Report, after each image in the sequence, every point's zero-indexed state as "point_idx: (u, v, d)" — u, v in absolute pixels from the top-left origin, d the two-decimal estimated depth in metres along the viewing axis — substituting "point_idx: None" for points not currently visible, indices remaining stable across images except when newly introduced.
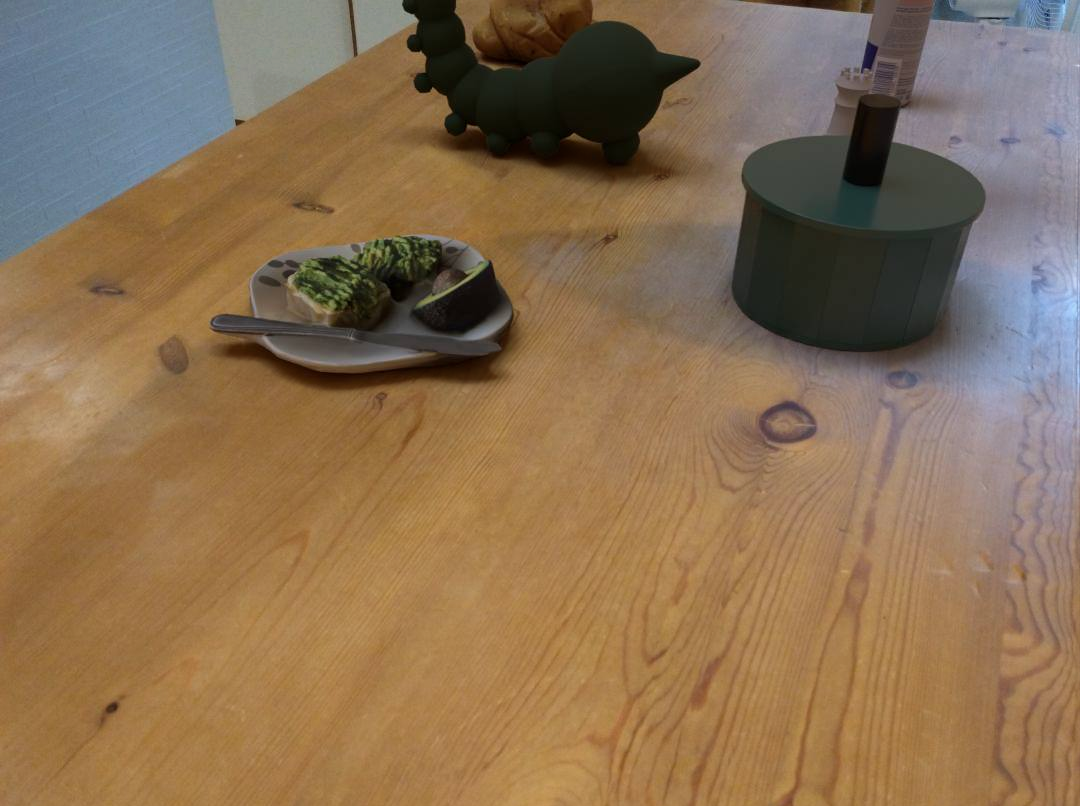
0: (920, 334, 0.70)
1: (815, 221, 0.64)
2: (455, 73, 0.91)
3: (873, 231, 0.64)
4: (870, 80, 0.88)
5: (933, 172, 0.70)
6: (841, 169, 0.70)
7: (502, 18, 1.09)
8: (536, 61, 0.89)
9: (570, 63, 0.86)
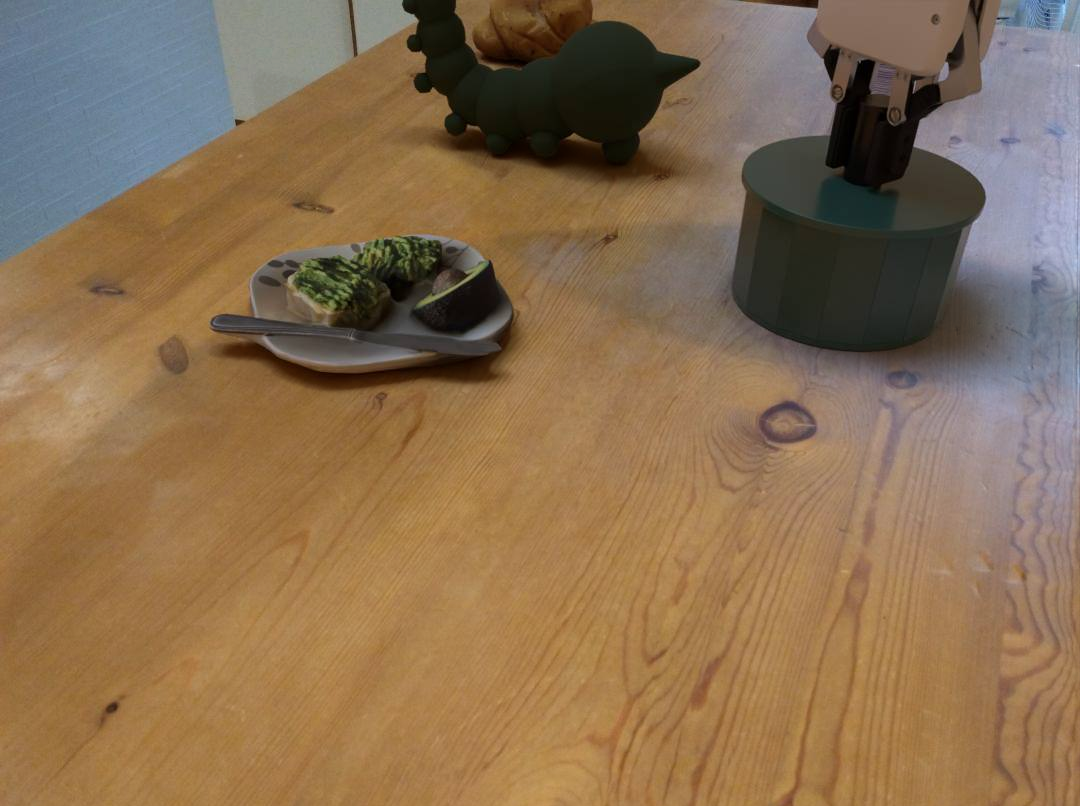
0: (920, 334, 0.70)
1: (815, 221, 0.64)
2: (455, 73, 0.91)
3: (873, 231, 0.64)
4: None
5: (933, 172, 0.70)
6: (841, 169, 0.70)
7: (502, 18, 1.09)
8: (536, 61, 0.89)
9: (570, 63, 0.86)
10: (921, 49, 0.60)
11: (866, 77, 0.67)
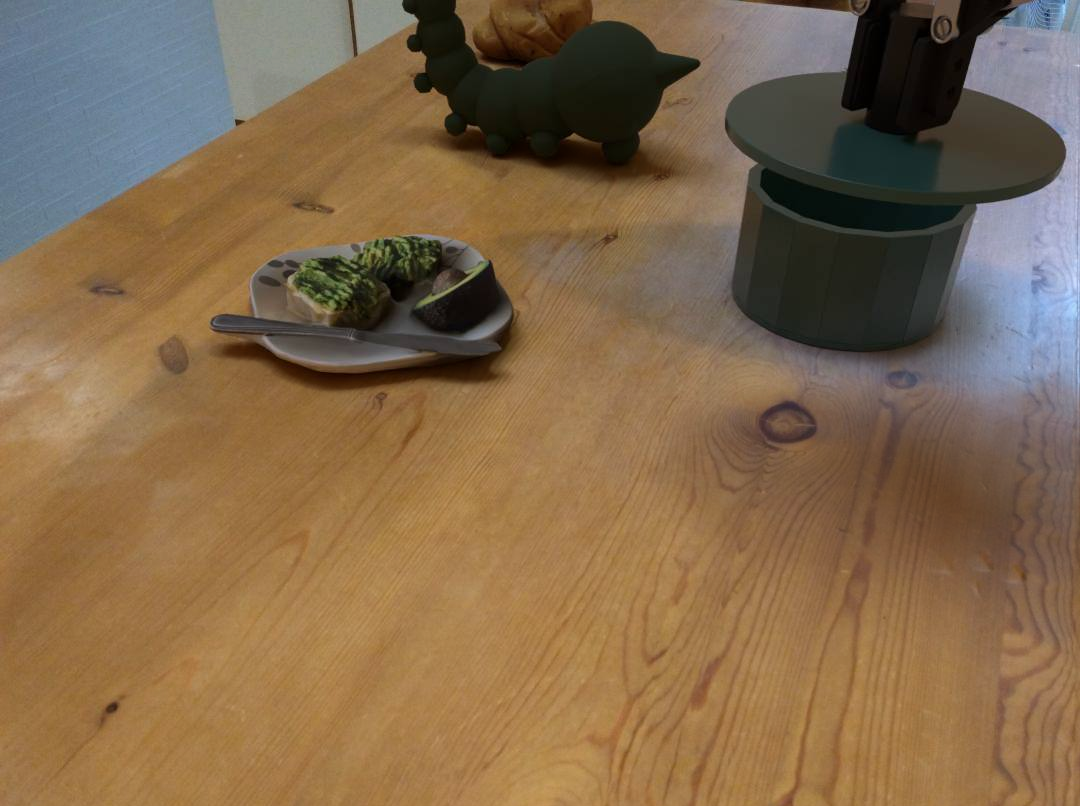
0: (920, 334, 0.70)
1: (827, 178, 0.45)
2: (455, 73, 0.91)
3: (911, 193, 0.44)
4: None
5: (989, 117, 0.51)
6: (862, 113, 0.51)
7: (502, 18, 1.09)
8: (536, 61, 0.89)
9: (570, 62, 0.86)
10: None
11: None
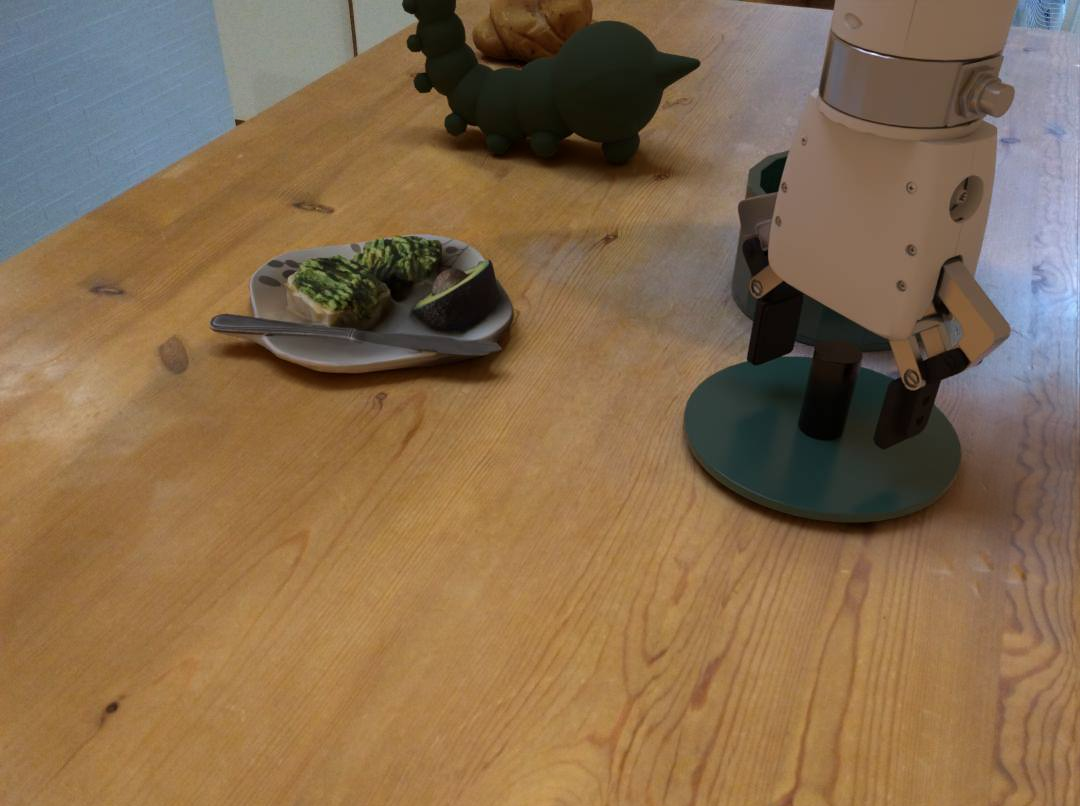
0: None
1: (762, 498, 0.56)
2: (455, 73, 0.91)
3: (829, 514, 0.55)
4: None
5: None
6: (797, 412, 0.62)
7: (502, 18, 1.09)
8: (536, 61, 0.89)
9: (570, 62, 0.86)
10: (886, 313, 0.51)
11: None
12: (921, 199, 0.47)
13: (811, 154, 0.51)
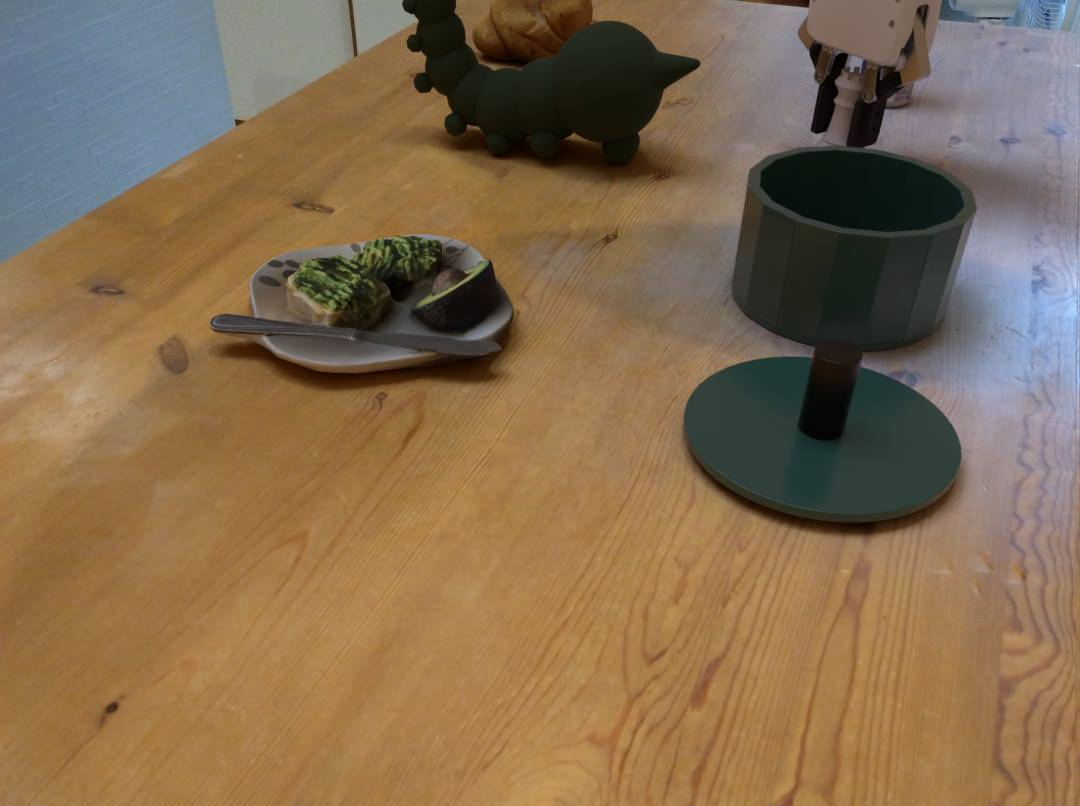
0: (920, 334, 0.70)
1: (762, 498, 0.56)
2: (455, 73, 0.91)
3: (829, 514, 0.55)
4: None
5: (902, 415, 0.62)
6: (797, 412, 0.62)
7: (502, 18, 1.09)
8: (536, 61, 0.89)
9: (570, 62, 0.86)
10: (882, 45, 0.83)
11: (841, 65, 0.90)
12: None
13: None
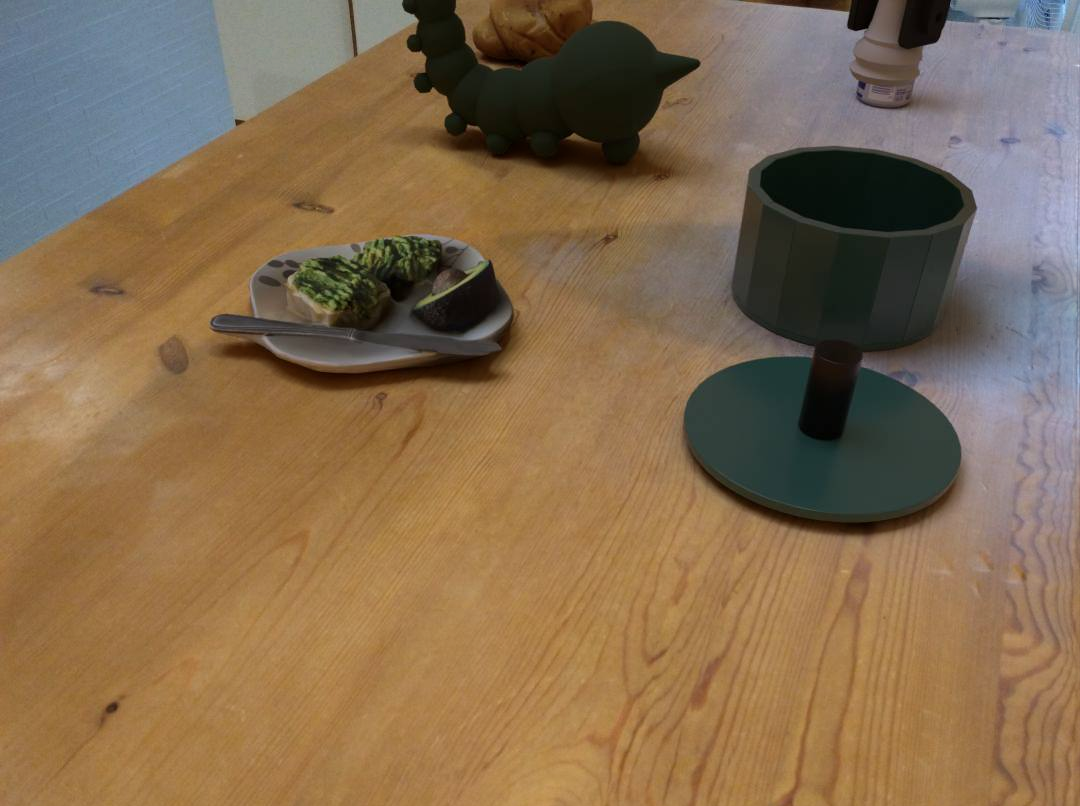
0: (920, 334, 0.70)
1: (762, 498, 0.56)
2: (455, 73, 0.91)
3: (829, 514, 0.55)
4: None
5: (902, 415, 0.62)
6: (797, 412, 0.62)
7: (502, 18, 1.09)
8: (536, 61, 0.89)
9: (570, 62, 0.86)
10: None
11: None
12: None
13: None
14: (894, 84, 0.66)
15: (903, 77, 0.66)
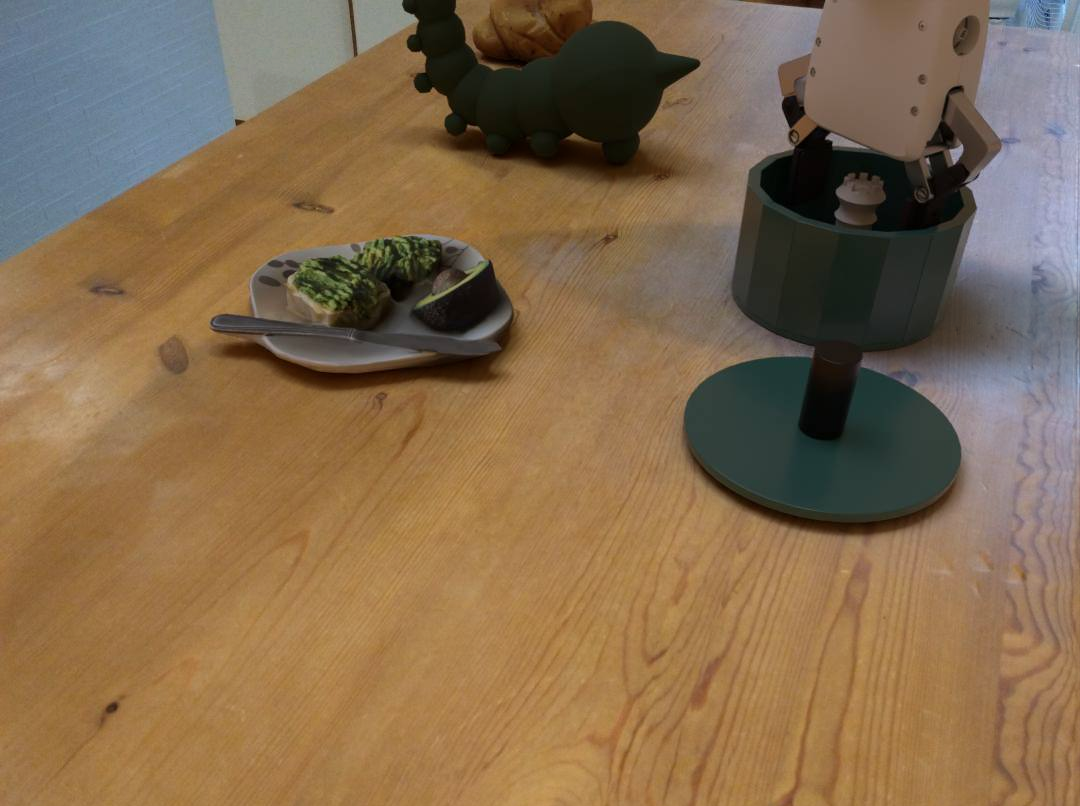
0: (920, 334, 0.70)
1: (762, 498, 0.56)
2: (455, 73, 0.91)
3: (829, 514, 0.55)
4: (881, 191, 0.69)
5: (902, 415, 0.62)
6: (797, 412, 0.62)
7: (502, 18, 1.09)
8: (536, 61, 0.89)
9: (570, 62, 0.86)
10: (902, 137, 0.63)
11: None
12: (930, 34, 0.59)
13: (841, 9, 0.63)
14: None
15: None
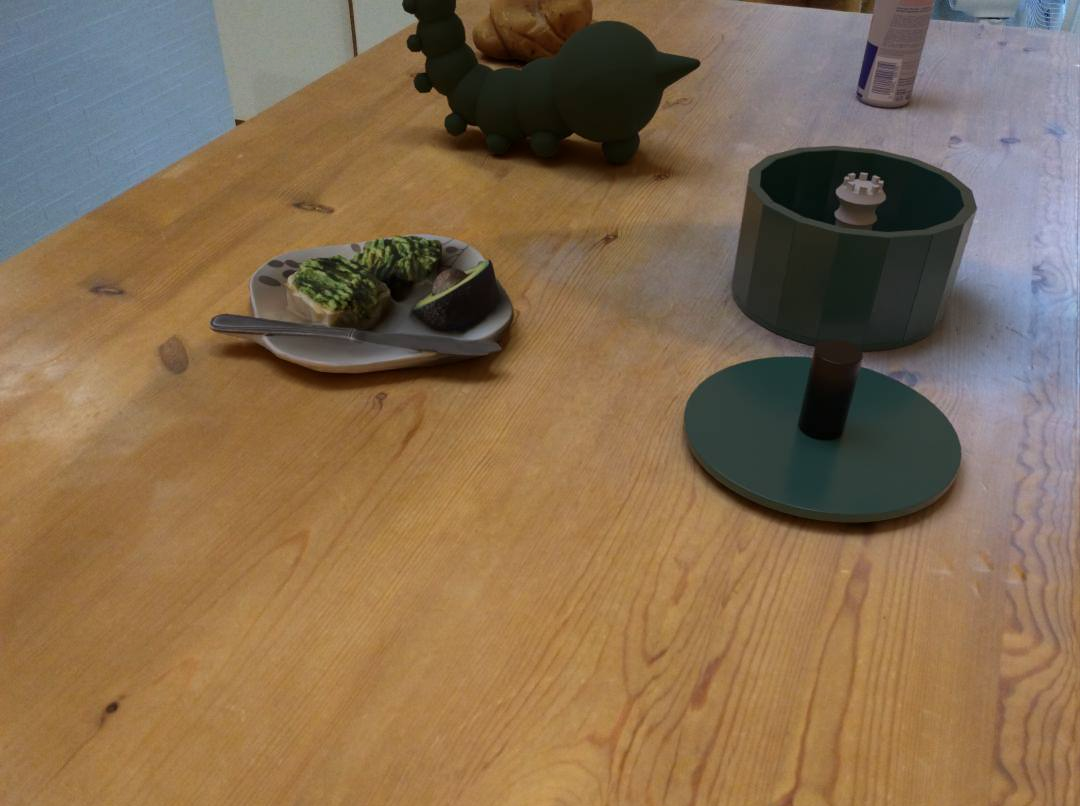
0: (920, 334, 0.70)
1: (762, 498, 0.56)
2: (455, 73, 0.91)
3: (829, 514, 0.55)
4: (881, 191, 0.69)
5: (902, 415, 0.62)
6: (797, 412, 0.62)
7: (502, 18, 1.09)
8: (536, 61, 0.89)
9: (570, 62, 0.86)
10: None
11: None
12: None
13: None
14: None
15: None
